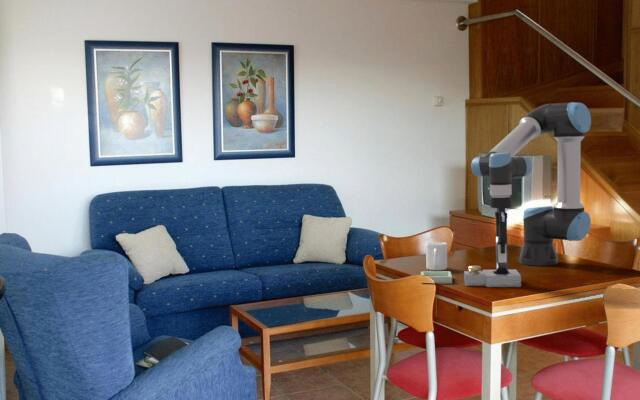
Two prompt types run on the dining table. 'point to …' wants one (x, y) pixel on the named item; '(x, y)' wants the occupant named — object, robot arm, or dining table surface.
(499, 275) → the socket block
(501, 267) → the gray rectangular peg
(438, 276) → the tray
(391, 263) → the dining table surface
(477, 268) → the brass knob
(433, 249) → the mug
